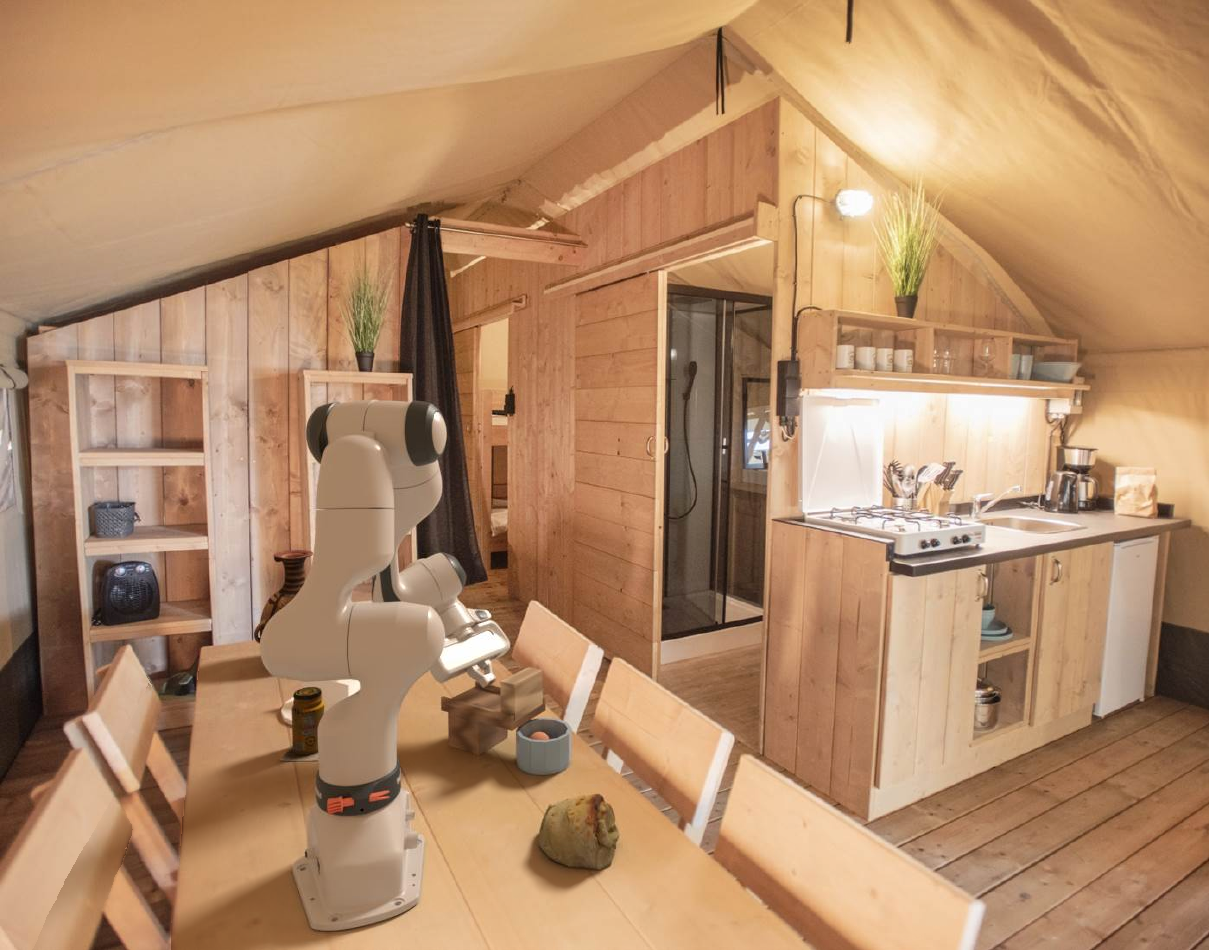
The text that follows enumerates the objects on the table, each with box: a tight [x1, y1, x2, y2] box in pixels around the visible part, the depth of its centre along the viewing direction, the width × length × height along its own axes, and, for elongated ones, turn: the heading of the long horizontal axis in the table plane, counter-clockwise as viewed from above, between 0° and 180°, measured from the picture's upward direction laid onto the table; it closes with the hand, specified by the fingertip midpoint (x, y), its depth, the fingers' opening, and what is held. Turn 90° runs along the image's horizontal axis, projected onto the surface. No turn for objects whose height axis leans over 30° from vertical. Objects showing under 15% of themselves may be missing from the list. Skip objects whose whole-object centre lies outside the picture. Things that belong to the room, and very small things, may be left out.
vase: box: [253, 549, 314, 645], centre depth 189 cm, size 21×18×30 cm
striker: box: [499, 666, 544, 720], centre depth 138 cm, size 4×9×7 cm, turn 149°
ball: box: [530, 732, 550, 740], centre depth 137 cm, size 4×4×4 cm
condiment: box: [279, 687, 324, 762], centre depth 139 cm, size 7×8×12 cm
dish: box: [280, 679, 360, 726], centre depth 161 cm, size 25×25×11 cm
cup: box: [515, 717, 573, 776], centre depth 135 cm, size 10×10×6 cm
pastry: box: [538, 793, 620, 871], centre depth 109 cm, size 14×12×8 cm
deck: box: [440, 680, 546, 756], centre depth 142 cm, size 18×11×10 cm, turn 59°
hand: (490, 683), depth 142 cm, fingers closed
